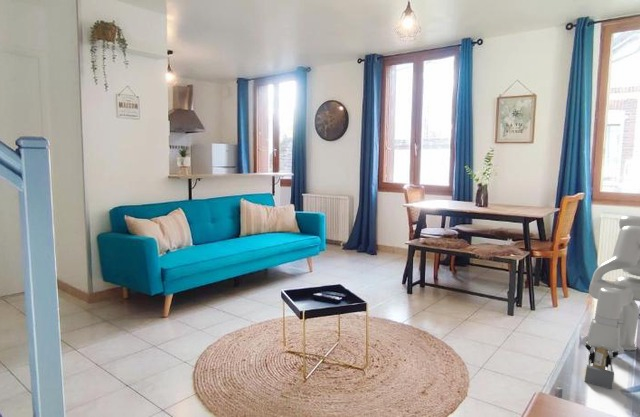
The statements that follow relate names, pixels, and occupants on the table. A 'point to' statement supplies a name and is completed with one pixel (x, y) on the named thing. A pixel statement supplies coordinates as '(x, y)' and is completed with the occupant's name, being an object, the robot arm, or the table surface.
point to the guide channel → (598, 374)
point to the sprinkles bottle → (600, 357)
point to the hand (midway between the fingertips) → (599, 363)
